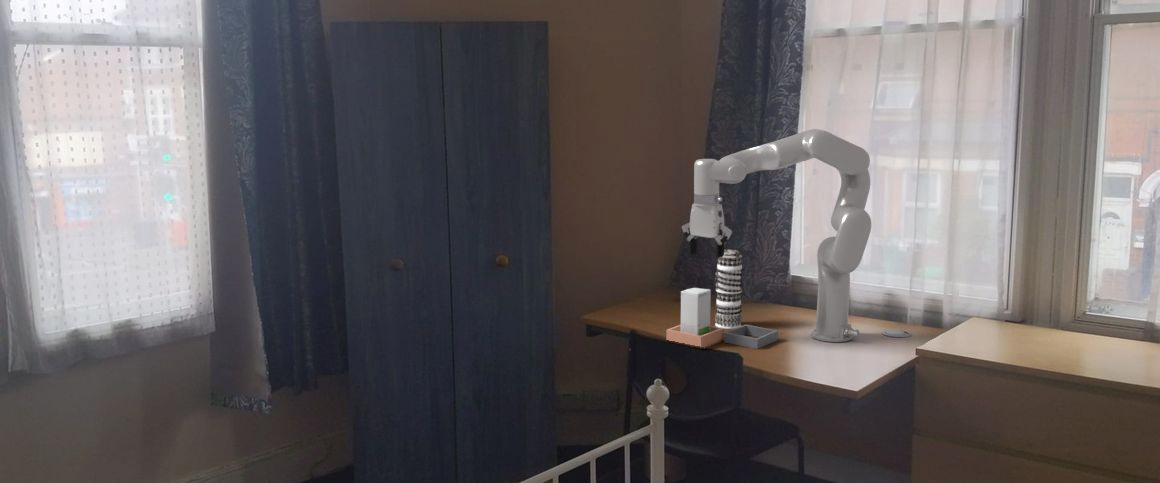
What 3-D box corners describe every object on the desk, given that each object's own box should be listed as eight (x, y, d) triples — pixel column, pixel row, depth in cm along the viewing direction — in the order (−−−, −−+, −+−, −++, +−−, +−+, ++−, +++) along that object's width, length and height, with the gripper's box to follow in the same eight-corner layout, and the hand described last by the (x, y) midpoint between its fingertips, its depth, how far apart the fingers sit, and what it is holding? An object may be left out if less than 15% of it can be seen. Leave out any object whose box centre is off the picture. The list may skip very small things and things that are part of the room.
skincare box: (697, 344, 279) (698, 294, 277) (678, 340, 283) (679, 291, 281) (711, 338, 286) (712, 289, 283) (692, 334, 290) (693, 286, 287)
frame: (777, 340, 286) (778, 330, 285) (757, 349, 276) (757, 339, 276) (745, 333, 293) (745, 324, 293) (723, 342, 284) (724, 332, 283)
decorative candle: (741, 330, 297) (743, 253, 293) (712, 328, 299) (714, 252, 295) (743, 322, 306) (745, 248, 302) (715, 321, 308) (716, 247, 304)
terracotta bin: (723, 340, 285) (723, 328, 284) (700, 349, 276) (701, 336, 275) (689, 333, 293) (689, 321, 293) (666, 342, 284) (666, 329, 283)
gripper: (737, 200, 277) (737, 256, 280) (689, 196, 288) (689, 250, 291) (724, 203, 271) (724, 260, 274) (675, 199, 282) (675, 254, 285)
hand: (706, 255), depth 283 cm, fingers open, 9 cm apart
